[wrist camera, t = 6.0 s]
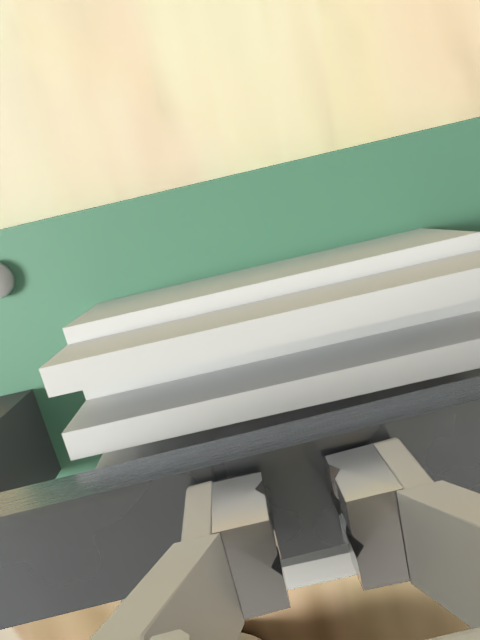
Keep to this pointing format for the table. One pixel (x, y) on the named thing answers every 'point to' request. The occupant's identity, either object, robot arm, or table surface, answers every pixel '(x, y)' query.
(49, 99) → the table surface
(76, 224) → the board
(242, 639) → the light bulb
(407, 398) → the strap
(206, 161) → the table surface
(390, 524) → the robot arm
